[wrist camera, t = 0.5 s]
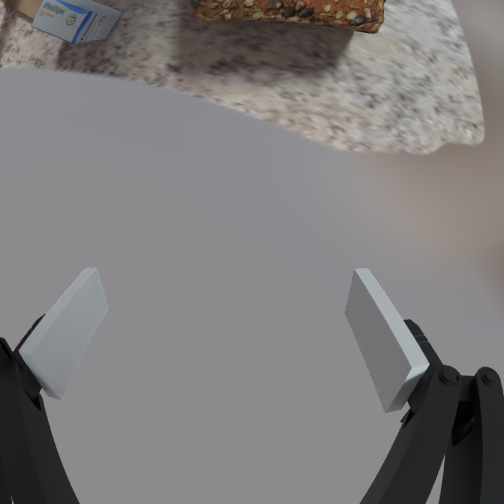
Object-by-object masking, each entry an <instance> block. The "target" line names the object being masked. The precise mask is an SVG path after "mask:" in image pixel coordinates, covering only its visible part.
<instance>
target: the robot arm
mask: <svg viewBox="0 0 504 504" xmlns="http://www.w3.org/2000/svg"><path fill="white" fill-rule="evenodd" d="M108 311H109V306H108V303H107V300H106V296H105V293H104V290H103V286H102V283H101V279H100V275H99V271H98V268H97V267H86V268H85V269H84V270H83V271H82V272H81V273H80V274H79V275H78V277H77V278H76V279H75V280H74V281H73V282H72V284H71V285H70V286H69V287H68V288H67V289H66V290H65V292H64V293H63V294H62V295H61V296H60V298H59V299H58V300H57V301H56V302H55V303H54V305H53V306H52V307H51V309H50V310H49V311H48V312H47V314H44V315H43V316H41V317H40V318H39V319H38V320H37V321H36V322H35V323H34V324H33V326H32V328H31V329H30V330H29V331H28V332H27V334H26V335H25V336H24V337H23V339H22V340H21V342H20V343H19V344H18V346H17V347H16V349H15V350H14V351H13V352H12V351H11V349H10V347H9V345H8V343H7V342H6V340H5V339H4V338H1V337H0V504H12V500H13V502H14V504H80V503H79V501H78V499H77V497H76V495H75V493H74V491H73V489H72V487H71V484H70V482H69V480H68V477H67V475H66V472H65V470H64V467H63V465H62V462H61V460H60V457H59V454H58V451H57V448H56V445H55V442H54V439H53V436H52V433H51V429H50V426H49V422H48V419H47V415H46V411H45V407H44V403H43V399H42V396H41V394H40V393H39V392H40V390H41V388H43V390H44V391H45V392H46V394H47V395H48V396H50V397H53V398H56V399H59V400H60V399H61V398H62V396H63V394H64V392H65V390H66V388H67V386H68V384H69V382H70V380H71V378H72V376H73V374H74V372H75V370H76V368H77V366H78V364H79V362H80V361H81V359H82V357H83V355H84V353H85V351H86V350H87V348H88V346H89V344H90V342H91V341H92V339H93V337H94V335H95V334H96V332H97V330H98V328H99V326H100V325H101V323H102V322H103V320H104V318H105V316H106V315H107V313H108ZM345 314H346V317H347V319H348V322H349V324H350V326H351V328H352V330H353V333H354V335H355V338H356V340H357V343H358V345H359V347H360V350H361V352H362V355H363V357H364V359H365V362H366V365H367V367H368V370H369V372H370V375H371V377H372V380H373V382H374V385H375V387H376V390H377V393H378V395H379V398H380V401H381V403H382V406H383V409H384V411H385V413H388V412H392V411H397V410H401V409H402V408H403V406H404V405H405V403H406V402H407V401H408V404H409V406H410V409H409V410H408V412H407V413H406V414H405V416H404V417H403V418H402V420H401V421H400V422H403V423H402V426H401V428H400V430H399V432H398V435H397V437H396V439H395V441H394V443H393V445H392V447H391V449H390V451H389V453H388V455H387V457H386V459H385V461H384V463H383V465H382V467H381V469H380V471H379V472H378V474H377V476H376V478H375V479H374V481H373V483H372V485H371V486H370V488H369V489H368V491H367V493H366V494H365V496H364V497H363V499H362V501H361V502H360V504H425V503H426V501H427V499H428V497H429V495H430V492H431V490H432V487H433V485H434V483H435V480H436V477H437V475H438V472H439V469H440V467H441V463H442V461H443V458H444V455H445V462H444V472H443V480H442V487H441V493H440V499H439V504H504V395H503V390H502V385H501V380H500V377H499V375H498V374H497V372H496V371H494V370H493V369H491V368H489V367H482V368H480V369H479V370H478V371H477V373H476V374H475V376H462V375H460V373H459V372H458V371H457V370H456V369H454V368H453V367H451V366H447V365H443V364H442V362H441V360H440V359H439V357H438V356H437V354H436V353H435V351H434V349H433V348H432V346H431V344H430V343H429V342H428V340H427V338H426V337H425V336H424V334H423V332H422V331H421V329H420V328H419V326H418V325H417V324H415V323H414V322H413V321H412V320H410V319H408V320H402V318H401V316H400V315H399V313H398V312H397V311H396V309H395V307H394V306H393V304H392V303H391V301H390V300H389V298H388V297H387V295H386V294H385V292H384V291H383V289H382V288H381V287H380V285H379V284H378V282H377V281H376V279H375V278H374V276H373V275H372V274H371V272H370V271H369V269H354V272H353V277H352V282H351V287H350V292H349V296H348V301H347V305H346V309H345ZM11 497H12V499H11Z"/></svg>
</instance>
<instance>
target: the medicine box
mask: <svg viewBox="0 0 504 504" xmlns="http://www.w3.org/2000/svg"><path fill="white" fill-rule="evenodd" d="M121 14H122V12H121V11H118V10H116V9H113V8H111V7H108V6H106V5H103V4H101V3H98V2H95V1H92V0H43V2H42V4H41V6H40V8H39V10H38V12H37V14H36V16H35V18H34V20H33V23H32V25H31V27H33V28H36V29H38V30H41V31H43V32H46V33H48V34H51V35H53V36H55V37H58V38H60V39H62V40H65V41H67V42H69V43H71V44H74V43H80V42H86V41H93V40H101V39H106V37H107V36H108V34H109V33H110V31H111V30H112V28H113V26H114V25H115V23H116V22H117V20H118V19H119V17H120V16H121Z"/></svg>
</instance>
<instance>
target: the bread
mask: <svg viewBox="0 0 504 504" xmlns="http://www.w3.org/2000/svg"><path fill="white" fill-rule="evenodd" d="M191 1H192V2H191V5H192V7H193V9H194V15H195V17H196V19H197V21H198V22H201V23H205V22H218V21H242V20H244V21H245V20H249V21H282V22H294V23H295V22H299V23H306V24H314V25H321V26H328V27H336V28H342V29H348V30H354V31H357V32H358V31H359V32H364V33H372V34H374V33H377V32H378V30H379V28H380V27H381V25H382V23H383V22H384V17H383V16H384V3H385V1H386V0H191Z"/></svg>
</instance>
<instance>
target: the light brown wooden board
mask: <svg viewBox="0 0 504 504" xmlns="http://www.w3.org/2000/svg"><path fill="white" fill-rule="evenodd" d="M1 2H3V3H5V4H7V5H9V6H11V7H12V8H14V9H16V10H18V11H20V12H22V13H23V14H25V15H27V16H29V17H31V18H32V19H34V18H35V16H36V14H37V12H38V10H39V8H40V6H41V4H42V2H43V0H1Z"/></svg>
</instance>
